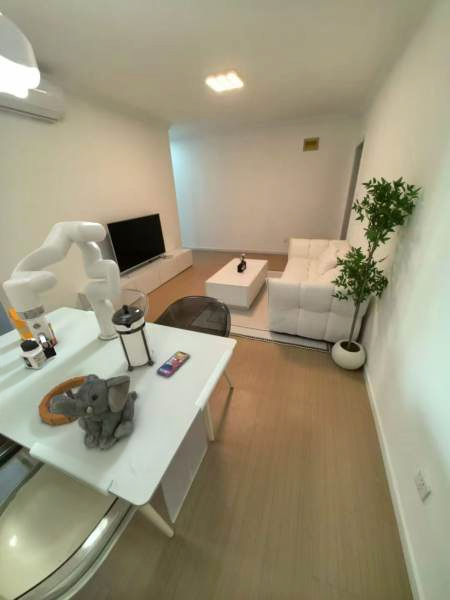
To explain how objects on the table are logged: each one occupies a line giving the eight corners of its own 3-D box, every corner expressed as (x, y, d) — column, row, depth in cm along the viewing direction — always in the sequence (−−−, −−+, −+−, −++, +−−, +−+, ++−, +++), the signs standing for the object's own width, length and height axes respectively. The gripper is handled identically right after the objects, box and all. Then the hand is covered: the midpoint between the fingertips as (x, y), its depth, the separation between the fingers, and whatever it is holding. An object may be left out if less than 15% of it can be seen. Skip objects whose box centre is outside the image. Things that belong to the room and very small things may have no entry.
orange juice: (21, 338, 131) (4, 308, 122) (39, 330, 138) (24, 301, 129) (27, 342, 127) (10, 311, 118) (45, 334, 134) (30, 304, 125)
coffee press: (164, 354, 111) (152, 299, 98) (139, 376, 99) (121, 316, 85) (139, 345, 119) (124, 293, 106) (113, 364, 106) (93, 308, 93)
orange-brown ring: (93, 374, 102) (91, 368, 100) (107, 400, 88) (105, 395, 87) (39, 400, 90) (35, 395, 89) (46, 435, 76) (42, 430, 75)
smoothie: (39, 351, 119) (22, 319, 110) (42, 343, 126) (26, 312, 117) (58, 346, 122) (42, 314, 113) (60, 338, 129) (45, 307, 120)
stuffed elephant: (82, 471, 66) (43, 407, 54) (82, 416, 83) (53, 357, 71) (148, 437, 74) (128, 375, 62) (136, 393, 90) (118, 337, 79)
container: (39, 369, 107) (26, 347, 101) (26, 367, 108) (13, 345, 102) (53, 358, 113) (42, 336, 108) (40, 356, 115) (29, 335, 109)
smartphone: (156, 372, 100) (178, 352, 112) (169, 377, 97) (190, 356, 108) (156, 370, 100) (178, 350, 111) (168, 375, 96) (190, 354, 108)
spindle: (77, 394, 92) (72, 383, 89) (80, 400, 89) (74, 389, 86) (66, 400, 89) (60, 389, 87) (68, 406, 87) (62, 395, 84)
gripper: (47, 316, 77) (65, 356, 84) (41, 301, 89) (57, 337, 96) (18, 325, 72) (40, 366, 80) (16, 308, 84) (36, 345, 92)
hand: (50, 350), depth 88 cm, fingers open, 9 cm apart
